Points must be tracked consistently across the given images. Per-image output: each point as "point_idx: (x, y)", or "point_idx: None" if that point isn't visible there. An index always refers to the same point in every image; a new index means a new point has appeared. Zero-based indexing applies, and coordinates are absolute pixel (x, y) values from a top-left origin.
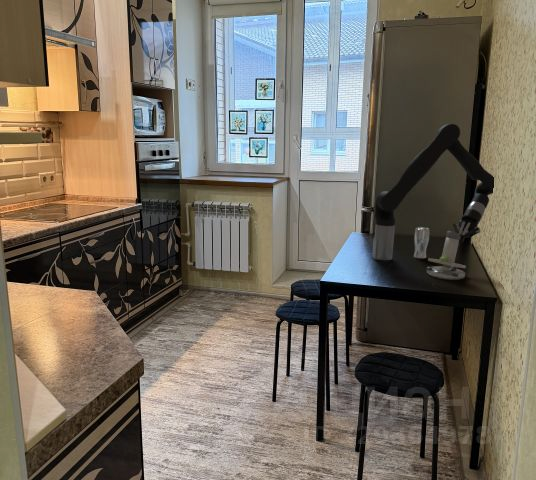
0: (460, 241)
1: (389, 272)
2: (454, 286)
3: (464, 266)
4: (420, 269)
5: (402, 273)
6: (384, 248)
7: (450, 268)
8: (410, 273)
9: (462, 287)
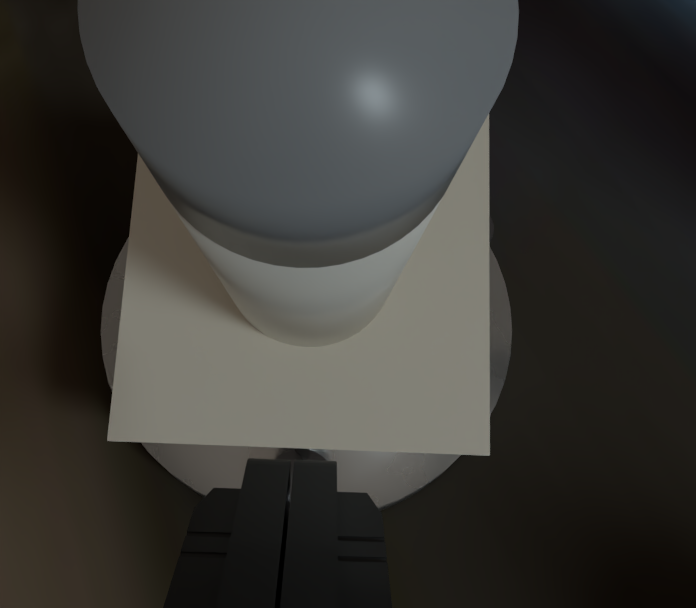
0: (234, 498)
1: (652, 39)
2: None
3: (116, 391)
4: (575, 298)
5: (577, 81)
6: None
7: (327, 460)
8: (539, 123)
9: (41, 82)
